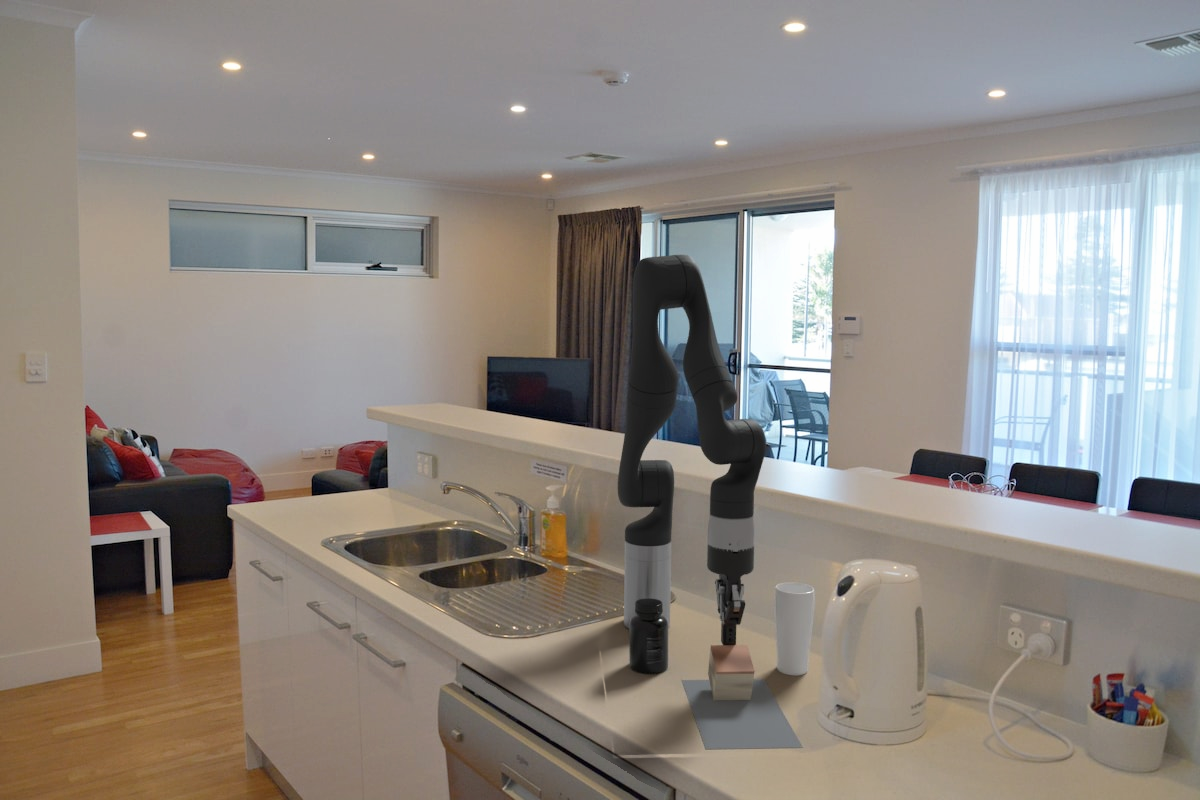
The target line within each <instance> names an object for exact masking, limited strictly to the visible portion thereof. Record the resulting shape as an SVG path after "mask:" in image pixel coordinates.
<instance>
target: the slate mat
mask: <svg viewBox="0 0 1200 800" xmlns="http://www.w3.org/2000/svg"><path fill="white" fill-rule="evenodd" d="M681 682H682V685H683V688H684V691H685V693H686V696H687V699H688V702H689V706H690V708H691V711H692V714H693V717H694V720H695V723H696V725H697V729H698V732H699V734H700V738H701V739H702V742H703V746H704V748H705V750H750V749H752V750H753V749H754V750H755V749H756V750H758V749H764V750H765V749H803V748H804V747H803V745H802V743H801V742H800V740H799V738H798V736H797V735H796V733H795V731H794V729H793V727H792V726H791V724H790V723H789V720H788V719H787V717H786V715H785V714H784V712H783V710H782V708H781V707H780V705H779V703H778V701H777V700H776V697H775V696H774V694H773V693H772V691H771V689H770V688H769V685H768V683H766V680H765V679H764V678H754V679H753V687H752V694H751V700H713V695H712V690H711V685H710V681H709V679H681Z"/></svg>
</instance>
